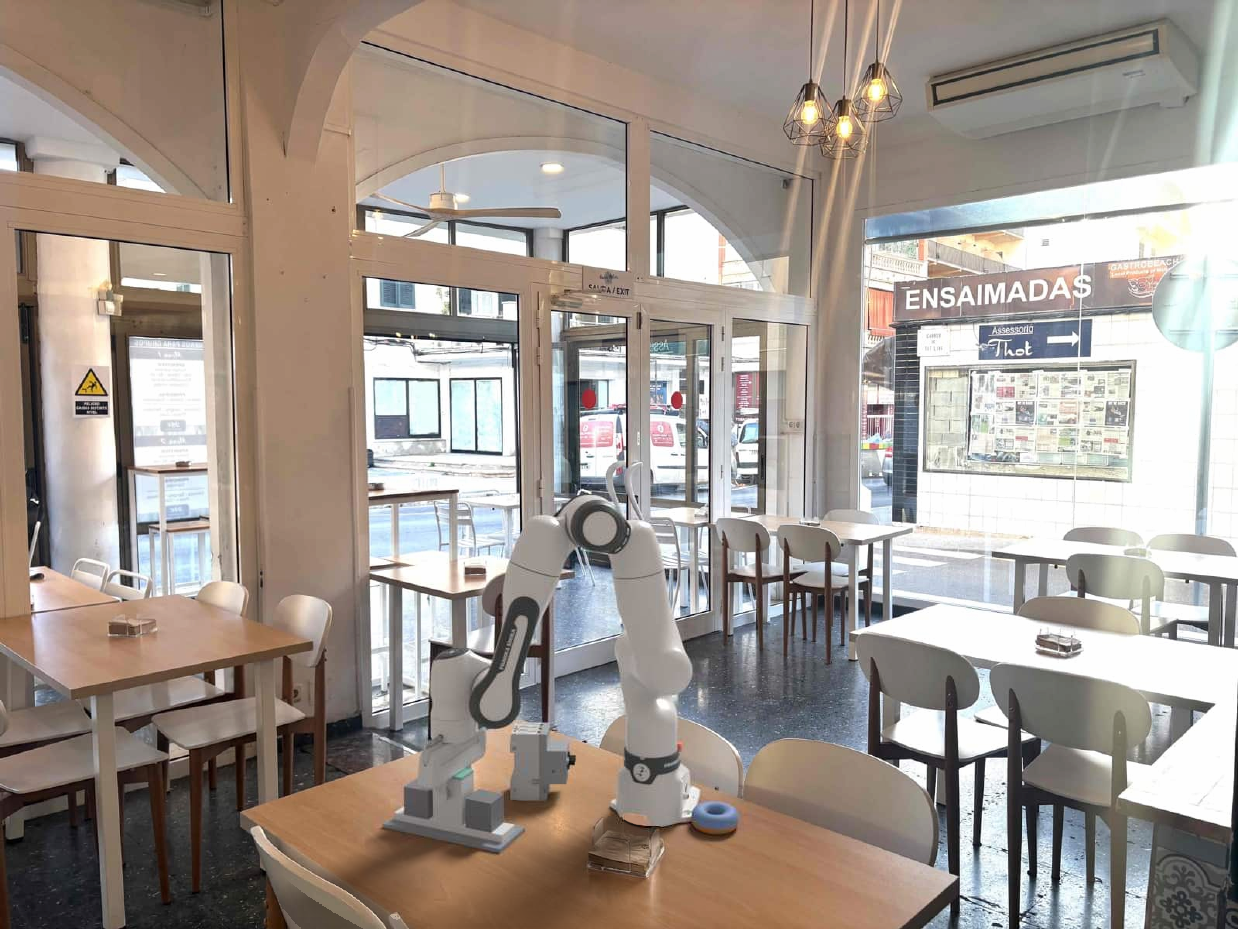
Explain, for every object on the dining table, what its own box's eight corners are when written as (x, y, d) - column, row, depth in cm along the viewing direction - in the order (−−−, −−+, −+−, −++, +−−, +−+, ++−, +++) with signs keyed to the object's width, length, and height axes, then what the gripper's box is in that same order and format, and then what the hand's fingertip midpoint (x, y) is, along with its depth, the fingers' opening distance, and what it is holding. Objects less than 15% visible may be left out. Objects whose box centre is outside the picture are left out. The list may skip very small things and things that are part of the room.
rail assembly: (411, 808, 194) (411, 770, 193) (524, 831, 183) (524, 792, 183) (382, 827, 185) (382, 788, 184) (500, 853, 174) (499, 811, 173)
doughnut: (733, 839, 179) (733, 816, 180) (685, 834, 182) (685, 811, 183) (743, 823, 189) (742, 801, 189) (697, 818, 192) (697, 797, 192)
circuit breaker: (574, 801, 198) (574, 734, 197) (510, 800, 198) (509, 734, 197) (576, 786, 205) (576, 723, 204) (514, 786, 205) (514, 722, 205)
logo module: (445, 811, 187) (445, 764, 187) (473, 817, 184) (473, 769, 184) (433, 820, 183) (432, 772, 182) (462, 826, 180) (461, 778, 180)
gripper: (436, 747, 172) (437, 817, 173) (491, 714, 191) (492, 777, 191) (409, 742, 174) (410, 811, 175) (466, 710, 193) (466, 773, 194)
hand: (453, 793), depth 183 cm, fingers open, 5 cm apart
